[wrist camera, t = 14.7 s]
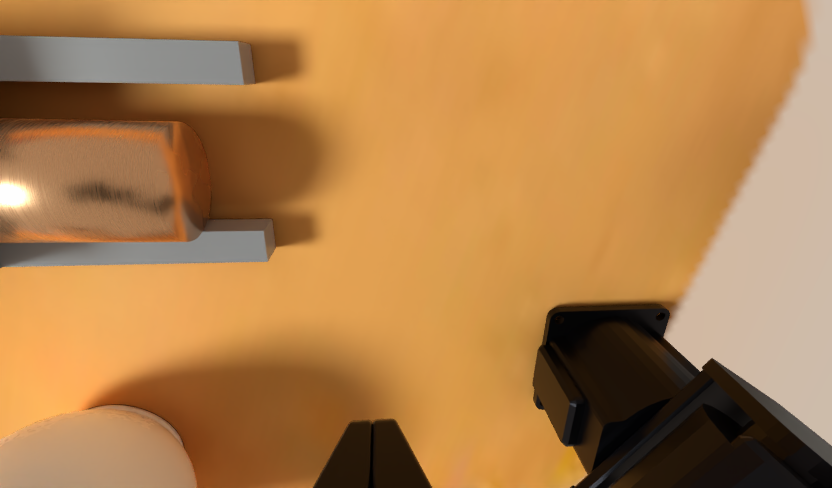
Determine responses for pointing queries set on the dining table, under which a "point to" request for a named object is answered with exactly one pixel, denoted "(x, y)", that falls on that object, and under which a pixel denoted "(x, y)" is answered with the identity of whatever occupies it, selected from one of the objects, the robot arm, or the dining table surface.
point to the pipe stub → (101, 181)
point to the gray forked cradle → (137, 65)
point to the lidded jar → (96, 452)
